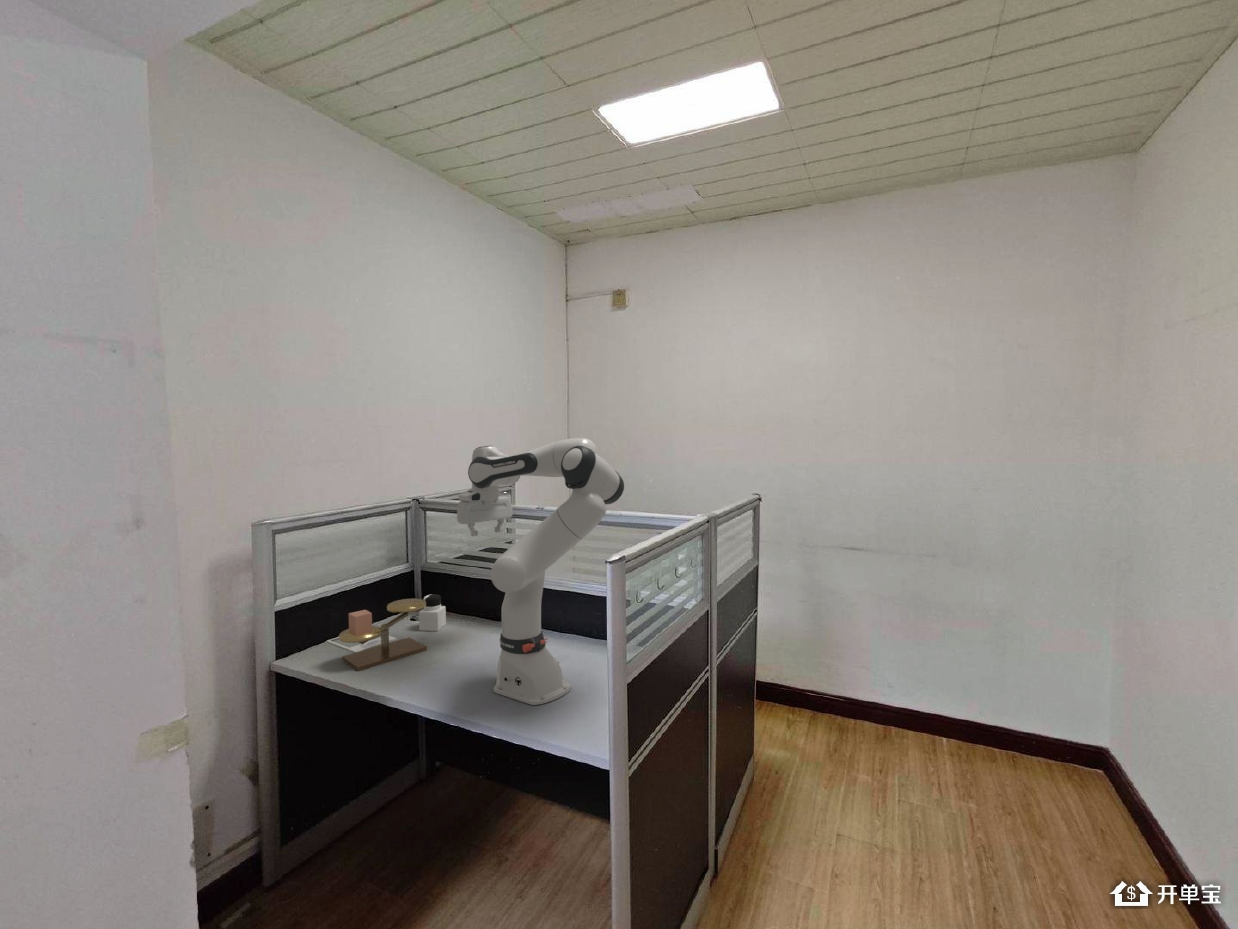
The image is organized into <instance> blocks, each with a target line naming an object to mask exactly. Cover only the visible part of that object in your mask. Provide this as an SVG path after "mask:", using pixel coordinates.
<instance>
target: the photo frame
mask: <svg viewBox="0 0 1238 929" xmlns="http://www.w3.org/2000/svg"><path fill="white" fill-rule="evenodd" d="M338 638H339V636H337V637H335V638H331V639H328V640H326V643H328V644H331V645H333V646H335V647H339V648H341V649H343V650H345V651H349V652H351V653H352V654H353V653H356V652H360V651H363V650H367V649H370V648H374V647H377V646H381V637H377V638H374V639H371V640H369V641H367V642H366V643H364V644H361V643H359V644H357V645H353V646H351V647H347V646H345V645H342V644H340V643H338V642H335V640H339V639H338ZM395 641H398V638H396V637H394V636H391V635H389V643H391V642H395Z"/></svg>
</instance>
